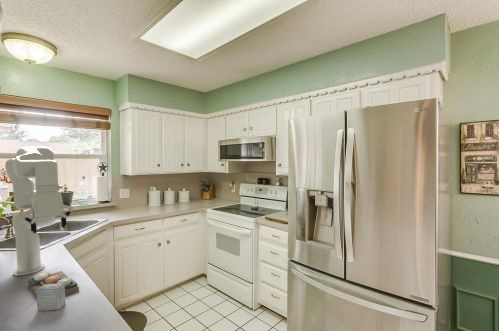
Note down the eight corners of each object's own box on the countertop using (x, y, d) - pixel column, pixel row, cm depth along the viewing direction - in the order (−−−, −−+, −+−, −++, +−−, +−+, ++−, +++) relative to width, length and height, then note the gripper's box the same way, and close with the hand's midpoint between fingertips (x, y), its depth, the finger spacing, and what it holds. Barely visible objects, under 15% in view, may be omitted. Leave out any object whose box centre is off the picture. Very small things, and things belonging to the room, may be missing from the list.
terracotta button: (44, 282, 114) (43, 278, 114) (57, 278, 118) (57, 274, 118) (46, 286, 111) (46, 281, 111) (60, 281, 115) (60, 277, 115)
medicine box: (66, 304, 102) (65, 282, 101) (58, 310, 97) (56, 288, 97) (45, 305, 101) (44, 283, 101) (36, 311, 97) (35, 289, 97)
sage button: (55, 285, 111) (55, 281, 111) (69, 281, 115) (69, 276, 115) (59, 289, 108) (58, 284, 108) (72, 284, 112) (72, 280, 112)
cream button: (33, 279, 118) (32, 275, 118) (46, 275, 122) (46, 271, 121) (35, 282, 114) (35, 278, 114) (49, 278, 118) (49, 274, 118)
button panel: (27, 285, 118) (27, 278, 118) (61, 275, 128) (61, 268, 128) (41, 304, 102) (41, 296, 102) (79, 291, 112) (78, 283, 112)
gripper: (69, 187, 115) (70, 224, 116) (18, 191, 102) (20, 233, 103) (74, 187, 111) (76, 226, 111) (21, 192, 97) (24, 236, 98)
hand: (49, 229), depth 107 cm, fingers open, 9 cm apart
